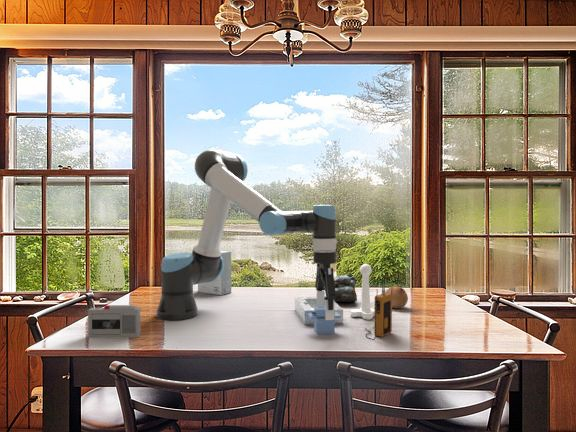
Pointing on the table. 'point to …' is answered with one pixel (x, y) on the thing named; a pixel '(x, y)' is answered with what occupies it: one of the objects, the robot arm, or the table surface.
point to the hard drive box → (219, 279)
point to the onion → (398, 297)
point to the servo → (323, 321)
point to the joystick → (364, 295)
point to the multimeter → (382, 313)
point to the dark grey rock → (345, 288)
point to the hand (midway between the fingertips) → (325, 314)
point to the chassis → (312, 309)
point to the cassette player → (114, 321)
